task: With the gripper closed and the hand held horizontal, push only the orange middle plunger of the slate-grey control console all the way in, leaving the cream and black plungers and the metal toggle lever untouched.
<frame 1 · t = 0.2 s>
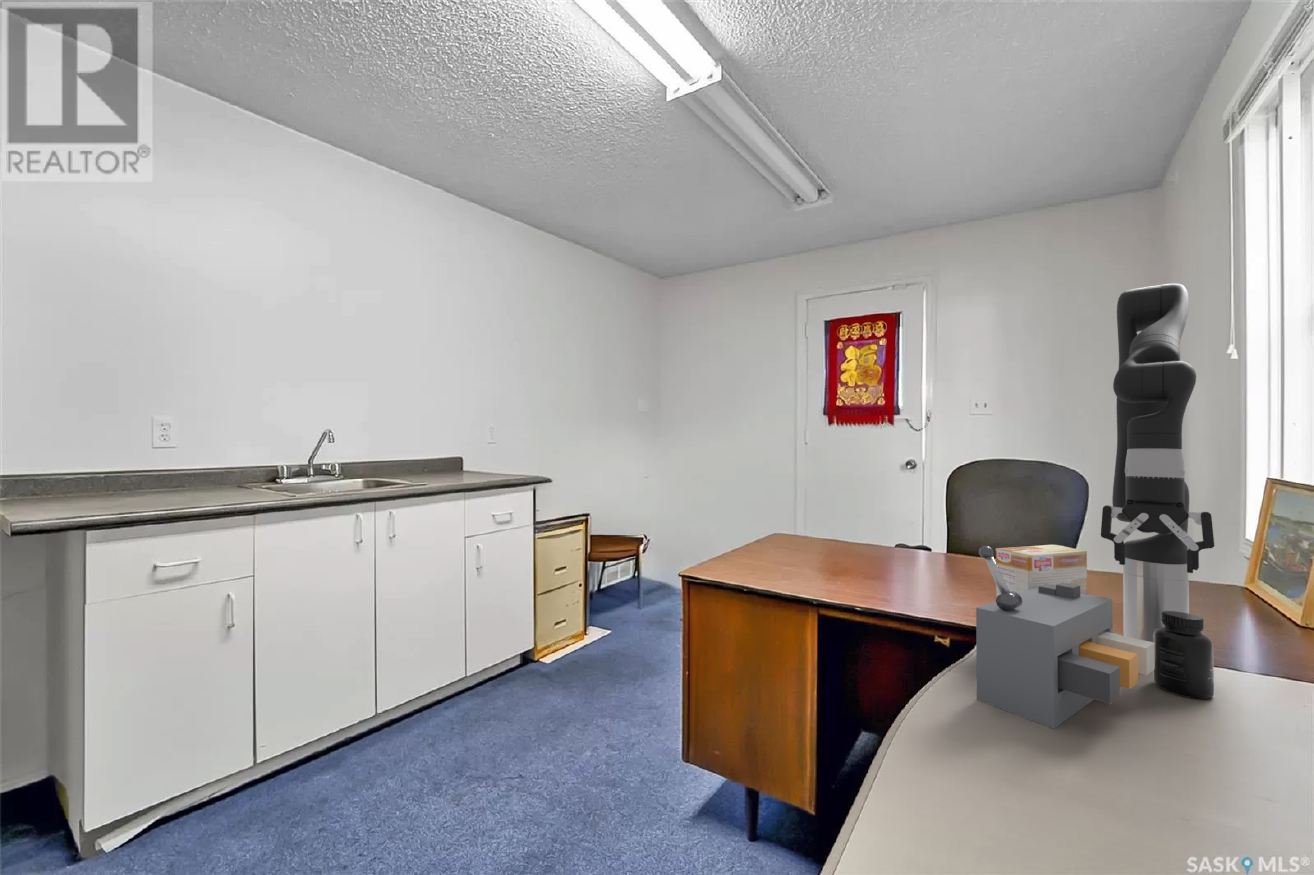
hand: (1154, 568, 91), 18 cm above the table, tool pointing down, fingers open, 8 cm apart
cream button: (1116, 650, 82), point 7 cm above the table, slide at 0.0 cm
supplement bottle: (1183, 691, 84), on the table
toggle lever: (997, 576, 81), point 19 cm above the table, hinge at 25.0°
black button: (1078, 674, 73), point 7 cm above the table, slide at 0.0 cm
grey dispenser housing: (1047, 692, 83), on the table
orange button: (1098, 661, 78), point 7 cm above the table, slide at 0.0 cm
coffeecake box: (1041, 652, 100), on the table
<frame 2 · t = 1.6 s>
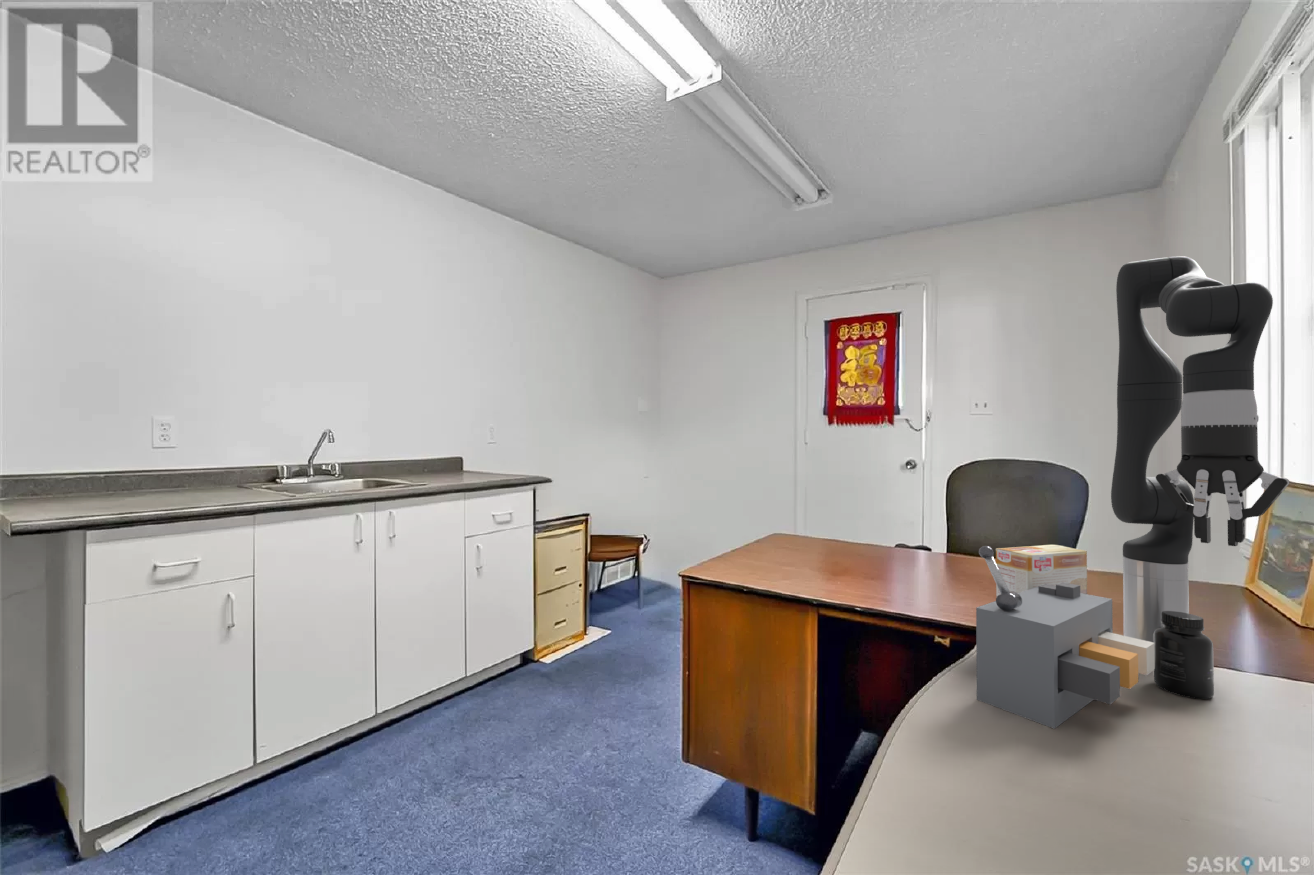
hand: (1219, 543, 75), 25 cm above the table, tool pointing down, fingers closed
nothing on the table moved.
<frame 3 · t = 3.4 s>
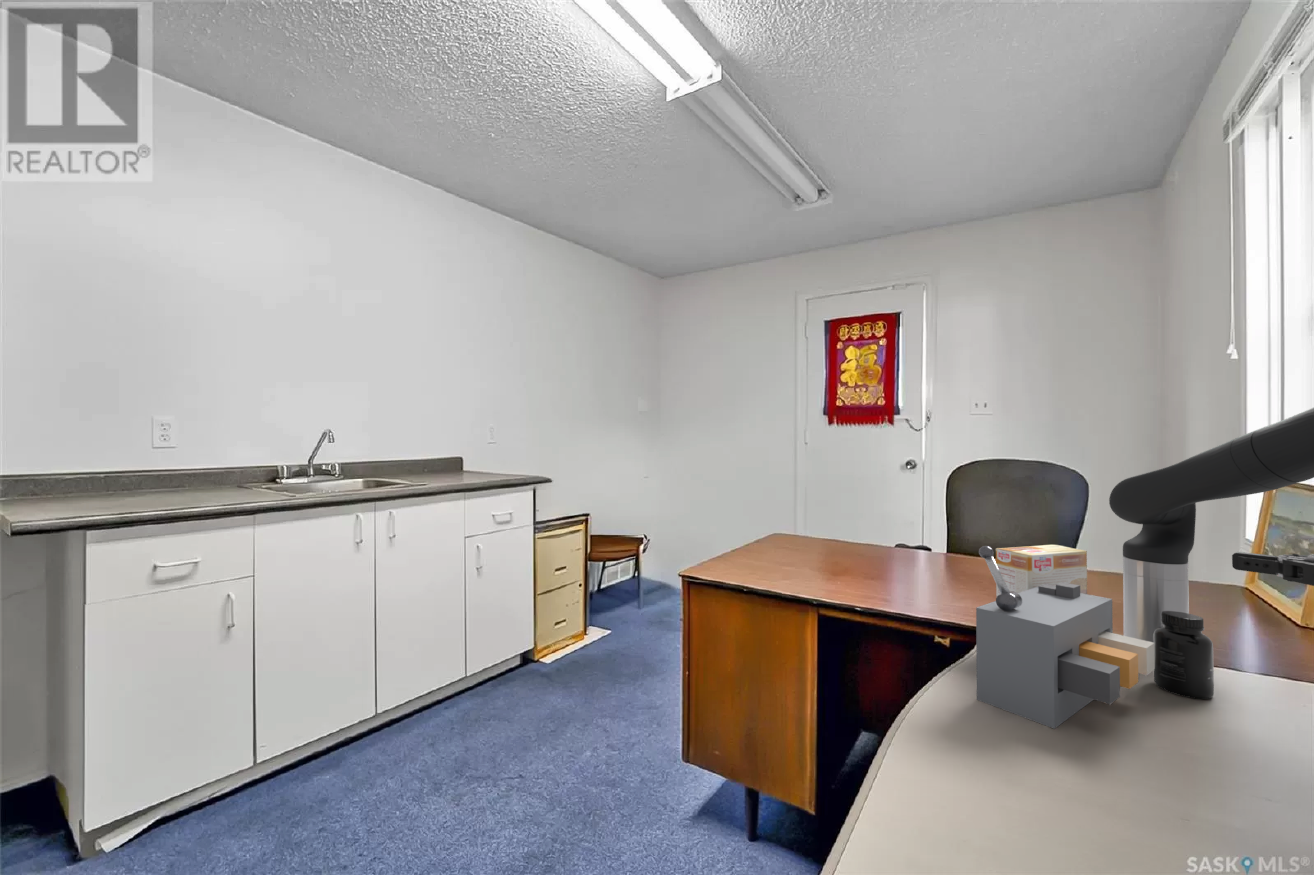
hand: (1233, 560, 69), 24 cm above the table, tool horizontal, fingers closed
nothing on the table moved.
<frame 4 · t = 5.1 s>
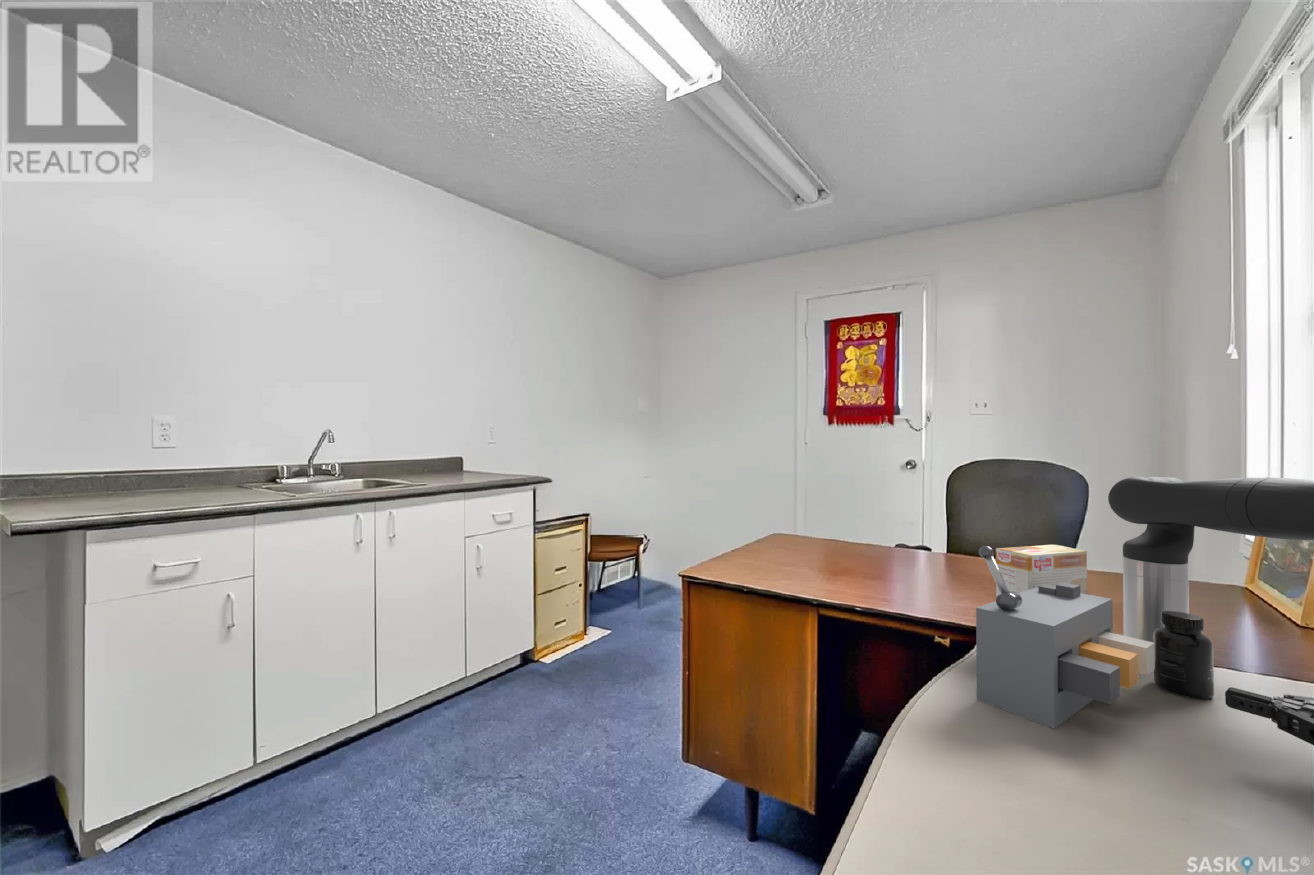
hand: (1227, 696, 67), 7 cm above the table, tool horizontal, fingers closed
nothing on the table moved.
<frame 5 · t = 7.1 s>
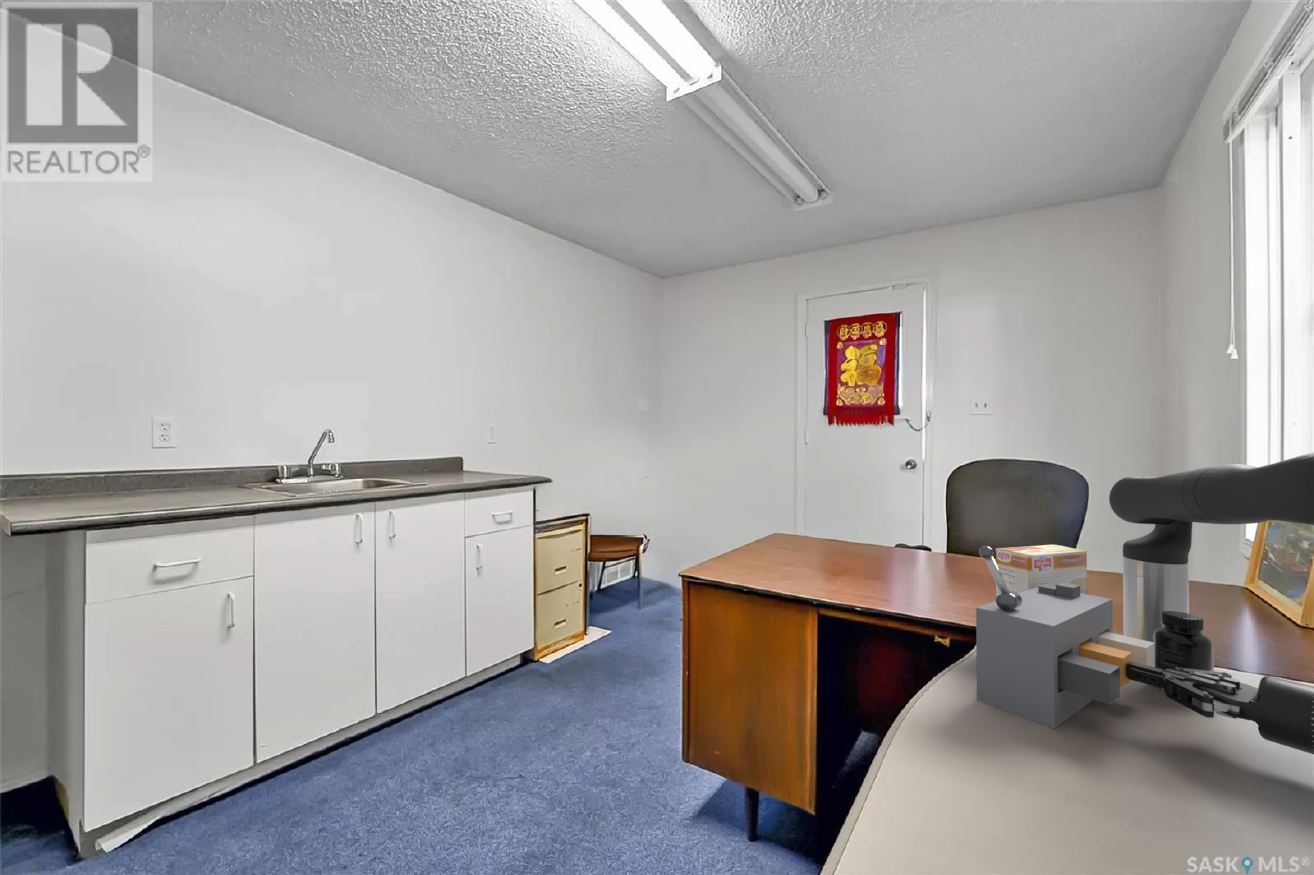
hand: (1127, 669, 75), 7 cm above the table, tool horizontal, fingers closed
orange button: (1092, 660, 78), point 7 cm above the table, slide at 0.7 cm, touching gripper
everything else where it was.
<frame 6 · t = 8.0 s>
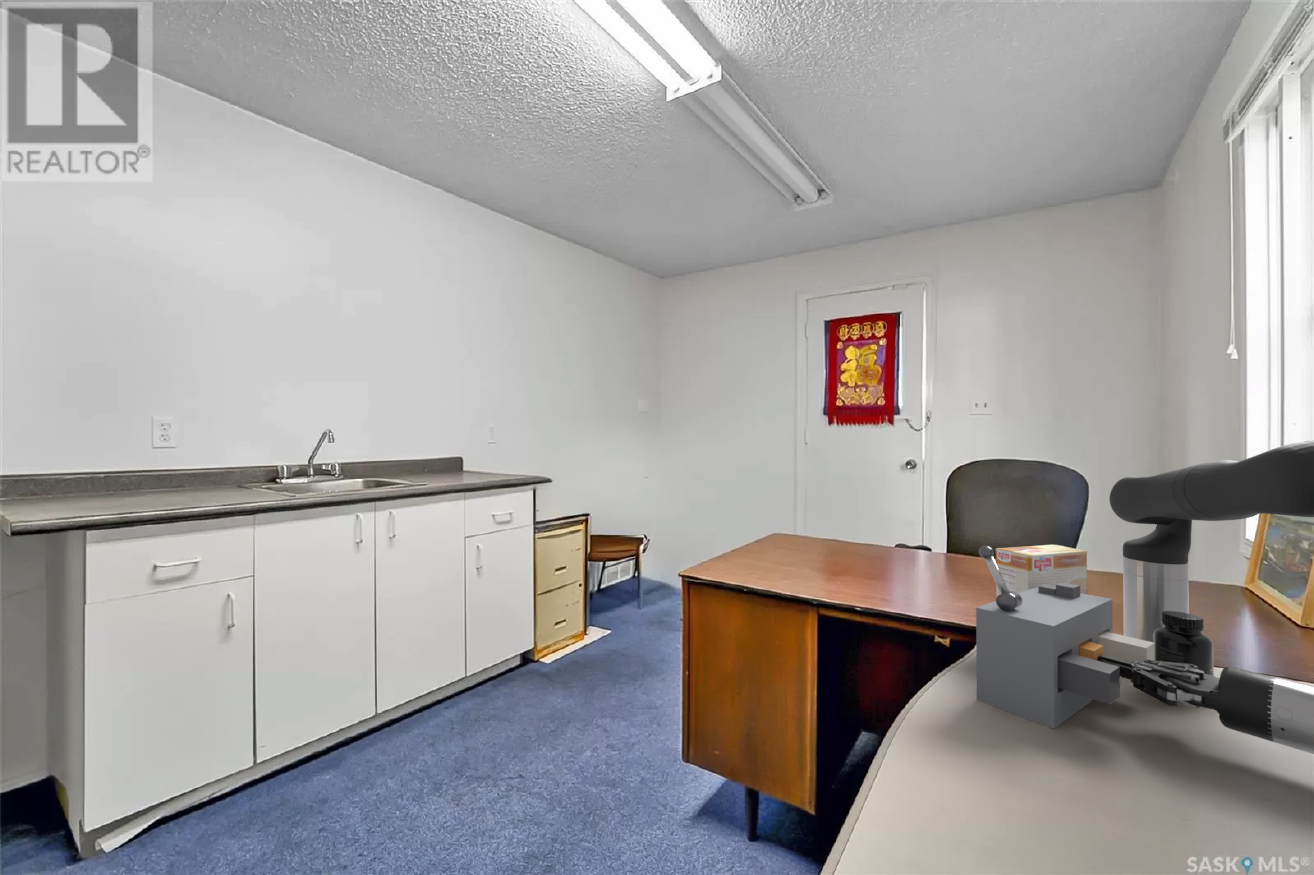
hand: (1099, 661, 77), 7 cm above the table, tool horizontal, fingers closed
orange button: (1066, 652, 81), point 7 cm above the table, slide at 3.9 cm, touching gripper
everything else where it was.
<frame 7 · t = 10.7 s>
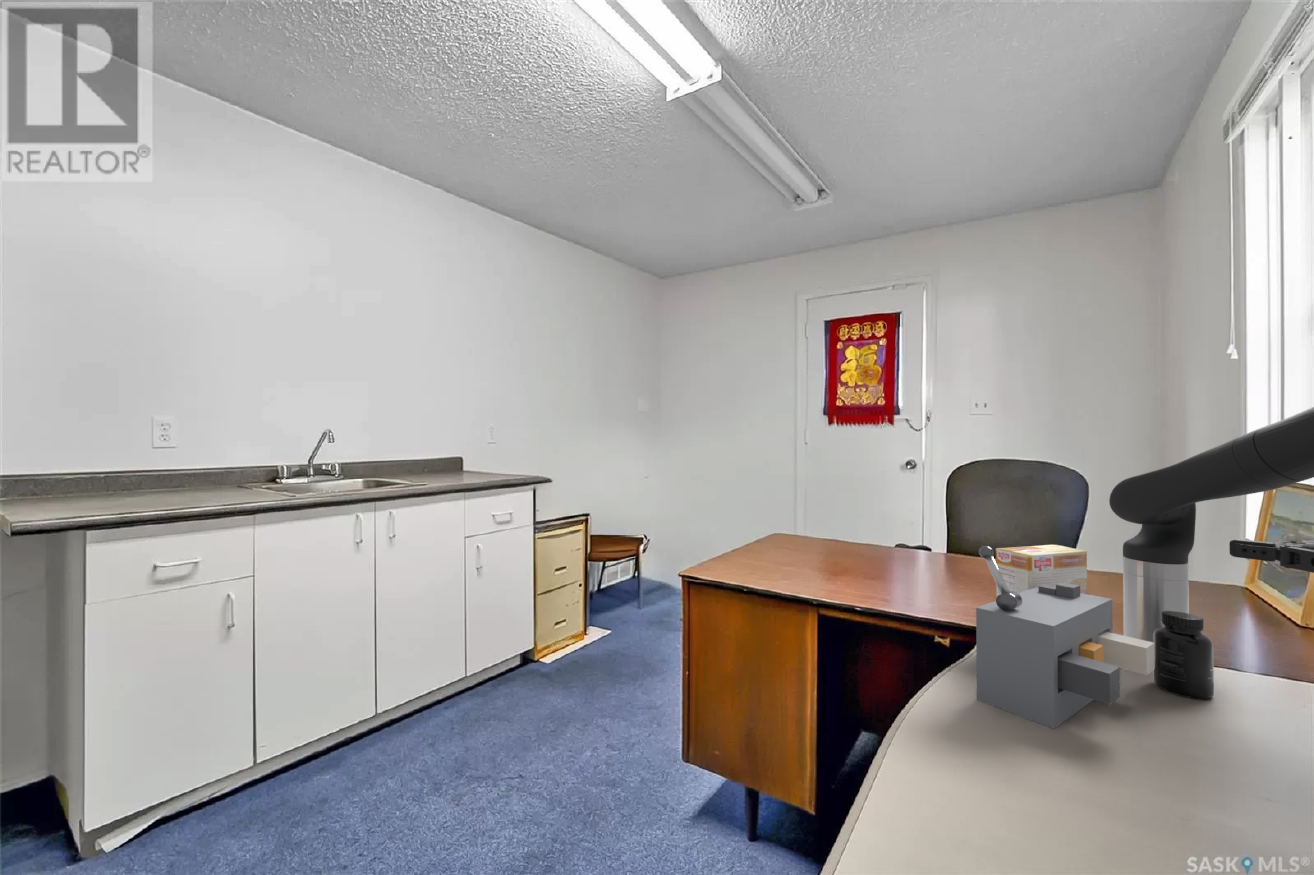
hand: (1231, 547, 69), 26 cm above the table, tool horizontal, fingers closed
orange button: (1066, 652, 81), point 7 cm above the table, slide at 3.9 cm
everything else where it was.
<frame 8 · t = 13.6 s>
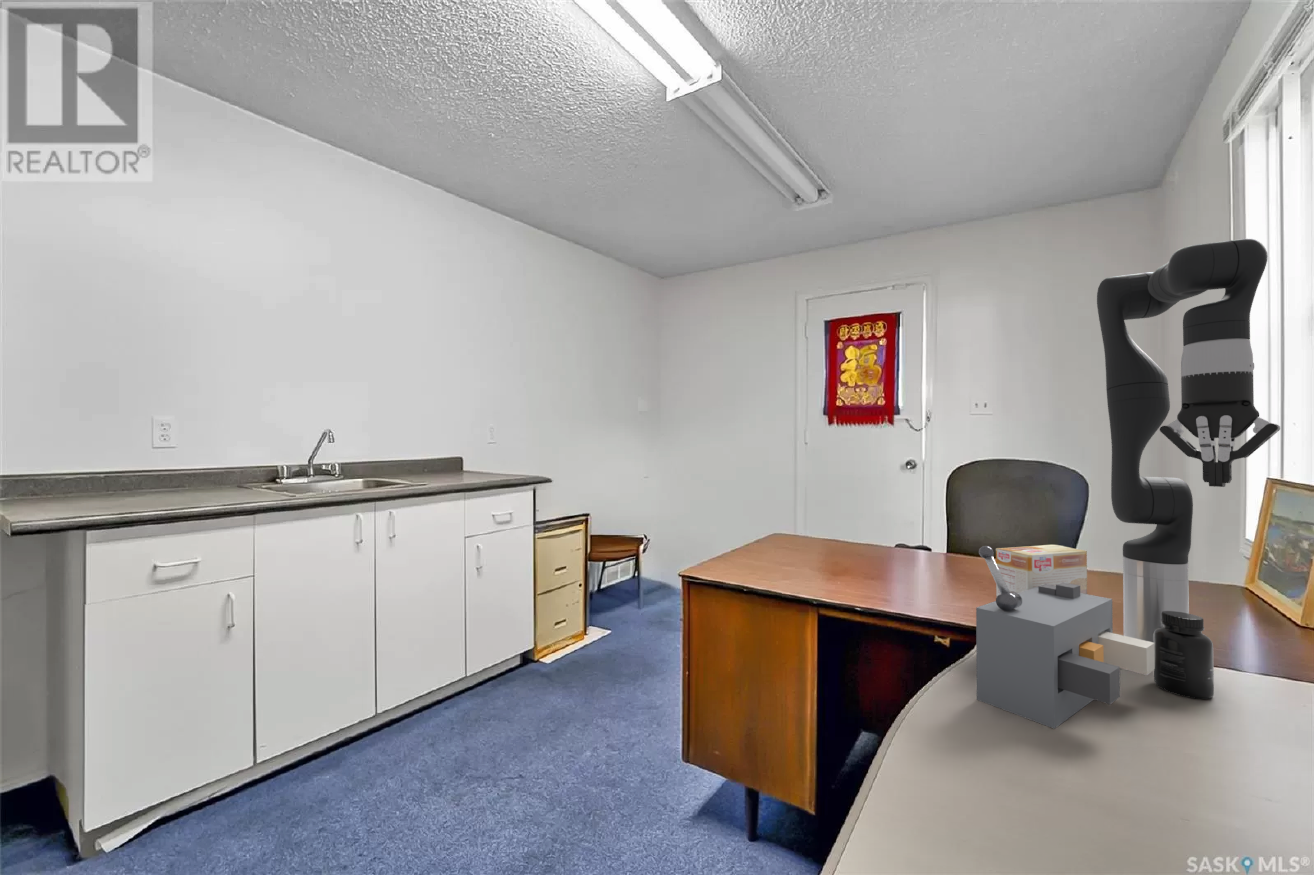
hand: (1217, 486, 80), 33 cm above the table, tool pointing down, fingers closed
nothing on the table moved.
at the end: orange button slide at 3.9 cm; cream button slide at 0.0 cm; black button slide at 0.0 cm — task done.
